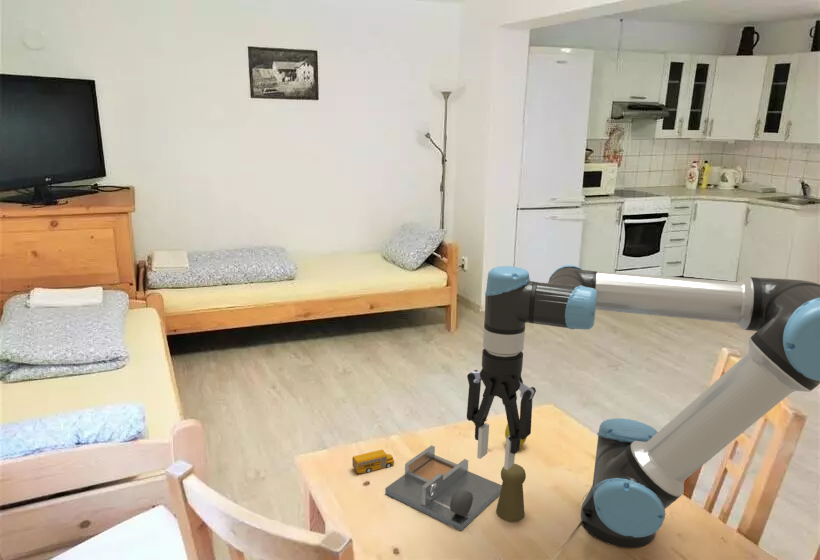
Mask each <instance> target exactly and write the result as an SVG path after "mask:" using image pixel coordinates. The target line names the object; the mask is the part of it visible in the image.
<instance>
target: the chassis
mask: <svg viewBox="0 0 820 560" xmlns="http://www.w3.org/2000/svg"><path fill="white" fill-rule="evenodd" d="M435 452H436V446H434V445H430V446H428V447H427V448H426V449H424V450H423V451H421V452H420V453H418V454H417V455H415V456H414V457H413V458H411V459H410V460H408V461H407V462H406V463H405V464H404V474H403V475H402V476H401V477H399V478H398V479H396V480H395V481H393V482H392V483H390V484H389V485H387V487H385V488H384V489H385V492H384V493H385V495H386V496H389V497H390V498H392V499H394V500H396V501H398V502H401V503H403V504H404V505H407V506H409V507H411V508H413V509H415V510H417V511H419V512H421V513H423V514H425V515H427V516H429V517H431V518H433V519H435V520H438V521H439V522H441V523H443V524H445V525H448V526H450V527H452V528H454V529H456V530H458V531H460V532H462V531H463V530H464V529H465V528H466V527H467V526H468V525H470V524H471V522H473V520H474V519H476V518H477V517H478V516H479V515H480V514H481V513H482V512H483V511H484V510H485V509H486V508H487V507H488V506H489V505H491V504H492V502H493V501H494V500H496V499H497V498H499V497H498V496H500V491H501V487H502V484H500V483H498V482H495V481H493V480H490V479H488V478H486V477H483V476H480V475H478V474H476V473H473V472H471V471H469V460H468V459H466V458H463V459H462V460H461V461H460V462H459V463H456V462H453V461H450V460H448V459H446V458H443V457H441V456H438V455H436V454H435ZM459 488H462V489H464V490H466V491H469V492H471V493H472V495H473V501H472V505H471V508H470V510H469V512H468V513H467V514H466V515H465V516H461V515H458V514H456V513H454V512H452V511H451V509H450V503H451V499H452V496H453V494H454V493H455V491H456V490H457V489H459Z"/></svg>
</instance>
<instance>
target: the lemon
mask: <svg viewBox="0 0 820 560" xmlns="http://www.w3.org/2000/svg"><path fill="white" fill-rule="evenodd" d="M509 435H510V432H509V427H508V423H507V425H506V427H505V431H504V437H505V439H506V438H507V437H508V436H509ZM527 438H528V436H527V437H526V438H525V439H524V440H522V439H520V447H521V446H523V445H524V443H525V442H526V440H527Z"/></svg>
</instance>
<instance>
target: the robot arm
mask: <svg viewBox="0 0 820 560" xmlns="http://www.w3.org/2000/svg"><path fill="white" fill-rule="evenodd" d="M486 279H487V280H486V288H485V289H486V290H485V293H484V295H485V299H484V300H485V301H484V324H483V337H482V348H483V349H482V353H481V354H482V355H481V370H480V371H479V370H477V369H475V370H472V371H471V372H469V373H468V374H467V375H466V377H467V382H468V397H467V408H466V420H468V421H469V422H470V421H471V422H473V424H474V426H475V428H474V429H475V430H474V440H475V441H477V454H476V455H477V456H476V458H477V459H479V460H482V459H483V458H484V457H485V456H486V455H488V450H489V447H488V446H489V433H490V432H489V431H490V424H489V423H487V421H488V419H487V418H488V416H489V413H490V410H491V407H492V405H493V403H494V400H495V397H497V398H500V399H501V401H502V405H503V406H504V410H505V415H506V421H507V424H508V427H509V432H510V435H509V436H508V437H507V438H506V437H505V447H504V448H505V451H504V461H503V462H504V466H503V467H504V469H506V470H508V469H509V468H510V467H511V466H512V465H514V464H515V459H516V454H517V453H518V452H519V451H520V449H521V446H520V439H522V440H524V439H525V438H526V437H527V438H528V436H530V435H531V433H532V417H533V416H532V413H533V412H532V411H533V399H534V397H535V394H536V392H537V389H536V387H534V386H532V387H529V386H527V385H526V384H525V383H524V381H523V378H522V372H523V371H522V370H523V362H524V358H523V357H524V353H523V351H524V347H525V346H524V345H525V334H526V333H525V332H526V331H525V330H526V323H529V324H536V325H540V326H541V325H542V326H548V327H549V326H550V327H558V328H563V329H564V328H566V329H570V330H590V329H591V330H592V328H593V327H594V325H595V318H596V311H605V312H613V313H614V312H616V313H623V314H625V313H627V314H637V315H647V316H657V317H667V318H668V317H669V318H677V319H686V320H696V321H697V320H698V321H709V322H716V323H718V322H719V323H728V324H735V325H737V326H738V327H739V328H740V329H741V330H743V331H753V332H755V333H754V334H752V335H751V336H750V337H749V339H748V345H749V347H748V352H747V353H746V354H745V355H744V356H743V357H741V358H740V359H739V360H738V361H737V362H736V363H735V364H733V365H732V366H731V367H730V368H729V369H728V370H727V371H726V372H725V373H723V374H722V375H721V376H720V377H719V378H718V379H717V380H715V381H714V382H713V383H712V384H711V385H710V386H708V387H707V388H706V389H705V390H704V391H702V393H701V394H700V395H698V397H696V398H695V399H694V400H692V402H691V403H689V404H688V405H687V406H686V407H685V408H684V409H682V410H681V411H680V412H679V413H678V414H677V415H676V416H674V417H673V418H672V419H671V420H670V421H669V422H668V423H667V424H665V425H664V426H663V427H662V428H661V429H660V430H659V431H658V430H656V429H655V428H654V427H653V426H651V425H649V424H646V423H644V422H642V421H638V420H634V419H629V418H620V417H619V418H609V419H605V420H603V421H602V422H601V423H600V424H599V428H598V431H597V442H596V443H597V445H596V453H595V461H594V471H593V478H592V486H591V487H590V489H589V491H588V492H587V495H585V498H584V500H583V502H582V505H581V508H580V518H581V520H580V522H581V524H582V527H584V529H585V530H586V531H587V532H588V533H589V534H591V535H592V536H593V537H594V538H596V539H598V540H600V541H602V542H603V543H606V544H608V545H612V546H615V547H619V548H627V549H629V548H630V549H631V548H633V549H634V548H635V549H636V548H642V547H645V546H647V545H650V543H652V542H653V541H654V539H655V538H656V535H657V532H658V531H659V530H660V529H661V528H662V526H663V524H664V521H665V517H666V509H667V508H668V507H670V506H671V505H672V504H673V503H674V502H676V501H677V500H678V499H679V498H680V497H681V496H683V495H684V491H685V487H684V482H685V480H687V479H688V478H689V477H690V476H691V475H693V474H694V473H695V472H697V471H698V470H699V469H700V468H701V467H702V466H704V465H705V464H706V463H707V462H709V461H710V460H711V459H712V458H714V457H715V456H716V455H717V454H718V453H720V452H721V451H722V450H724V448H726V447H727V446H728V445H729V444H731V443H732V442H733V441H734V440H736V439H737V438H738V437H739V436H740V435H742V434H743V433H744V432H745V431H747V429H749V428H750V427H751V426H753V425H754V424H755V423H756V422H757V421H759V420H760V419H761V418H763V417H764V416H765V415H766V414H767V413H768V412H770V411H771V410H772V409H773V408H775V407H776V406H777V405H779V404H780V402H782V401H784V400H785V399H786V398H787V397H788V396H789V395H790V394H792V393H794V392H807V393H810V392H812V391H813V390H814V389H815V388H817V387H818V386H819V385H820V283H817V282H813V281H809V280H804V279H803V280H802V279H789V278H788V279H787V278H772V277H769V278H767V277H753V276H751V277H750V276H747V277H745V278H744V279H743V280H741V281H732V280H730V281H729V280H718V279H704V278H692V277H691V278H690V277H679V276H677V277H676V276H665V275H663V276H661V275H652V274H651V275H650V274H640V273H639V274H637V273H636V274H635V273H624V272H610V271H599V270H598V271H594V270H588V269H587V270H586V269H582V268H581V267H579V266H577V265H574V264H565V265H562V266H560V267H559V268H557V269H555V271H554V272H553V273H552V274H550V277H549V279H548V281H547V282H538V281H533V280H532V281H531V278H530V273H529V271H528V270H527V269H526V268H523V267H517V266H514V265H513V266H511V265H503V266H502V265H500V266H496V267H492V268H491V270H489V271H488V274H487V278H486ZM481 383H483V385H484V387H485V388H484V390H483V393H482V399H481V402H480V397H481V385H482V384H481ZM518 390H519V392H520V394H519V396H520V398H521V400H520V406H519V408H518V403H517V400H518V395H517V391H518ZM519 409H520V410H519ZM527 438H526V439H527Z"/></svg>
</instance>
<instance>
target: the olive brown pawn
mask: <svg viewBox="0 0 820 560" xmlns="http://www.w3.org/2000/svg"><path fill="white" fill-rule="evenodd" d="M526 477H527V475H526V470H525V469H524V467H523V466H522V465H519V464H518V463H514V465H512V466H511V467H510V468H509V469H508V470H506V469H504V466H502V469H501V471H500V478H501V480H502V484H501V485H502V487H501V491H500V495H499V497H498V501H497V505H496V510H495V513H496V515H497V517H499V518H500V519H501V520H503V521H505V522H510V523H517V522H520V521H522V520H523V519H524V518H525V516H526V515H525V501H524V500H525V499H524V483H525V481H526Z"/></svg>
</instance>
